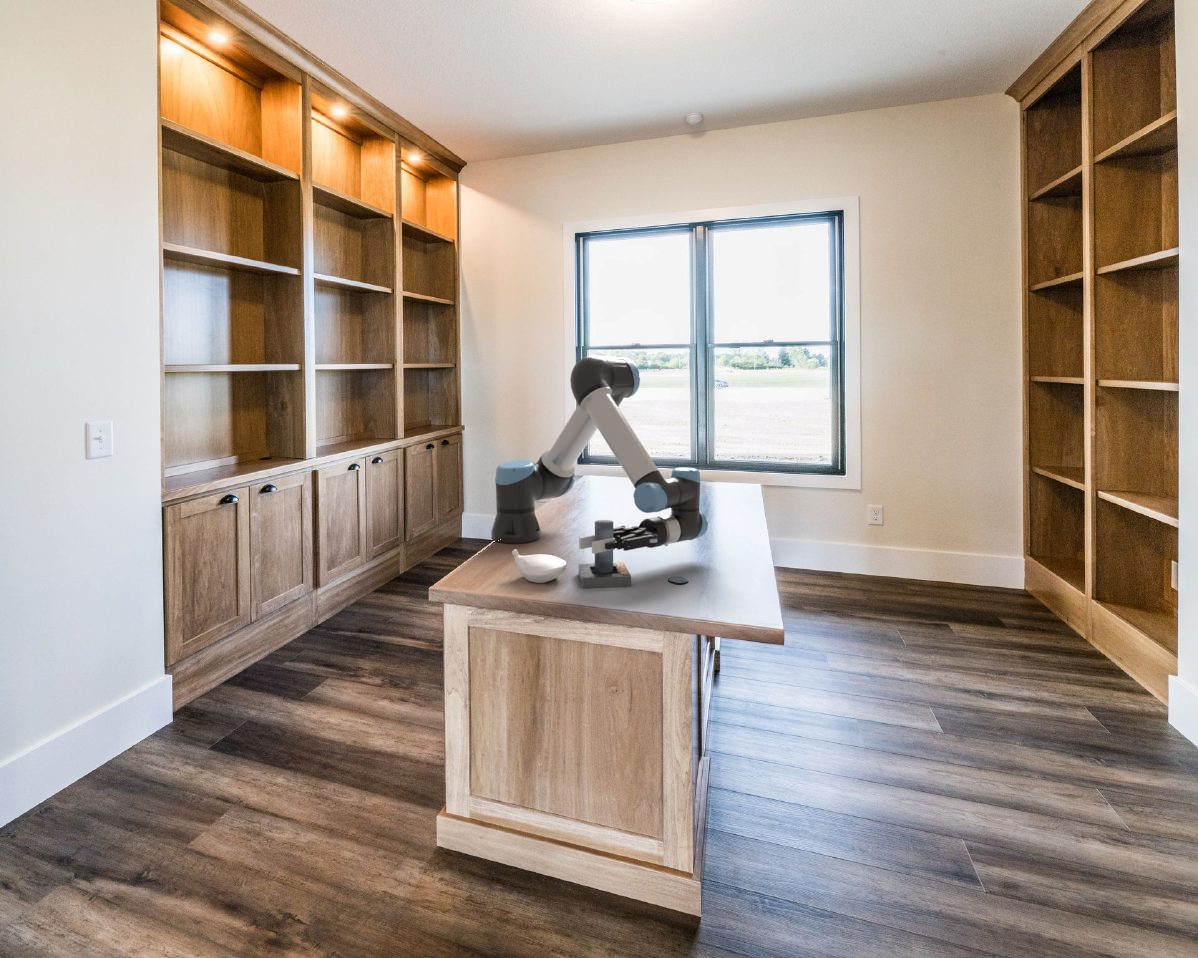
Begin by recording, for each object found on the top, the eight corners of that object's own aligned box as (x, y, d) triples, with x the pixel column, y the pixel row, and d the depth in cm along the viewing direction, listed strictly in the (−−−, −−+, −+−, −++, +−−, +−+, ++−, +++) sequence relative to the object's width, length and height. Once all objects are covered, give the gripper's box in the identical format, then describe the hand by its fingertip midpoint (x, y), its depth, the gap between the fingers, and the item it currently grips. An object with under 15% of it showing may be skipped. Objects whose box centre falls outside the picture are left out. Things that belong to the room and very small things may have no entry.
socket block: (582, 588, 151) (582, 577, 151) (578, 573, 163) (578, 563, 162) (631, 586, 153) (631, 575, 152) (623, 572, 164) (623, 561, 164)
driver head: (522, 540, 164) (555, 528, 157) (543, 575, 166) (577, 565, 158) (498, 562, 156) (531, 551, 148) (520, 598, 158) (554, 589, 150)
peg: (591, 569, 158) (591, 521, 156) (605, 566, 161) (605, 519, 159) (602, 573, 154) (602, 524, 152) (616, 570, 157) (617, 522, 155)
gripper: (682, 552, 161) (609, 569, 147) (636, 539, 175) (565, 553, 160) (682, 523, 160) (609, 537, 146) (636, 511, 173) (565, 523, 159)
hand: (586, 545), depth 153 cm, fingers closed on peg, 4 cm apart
